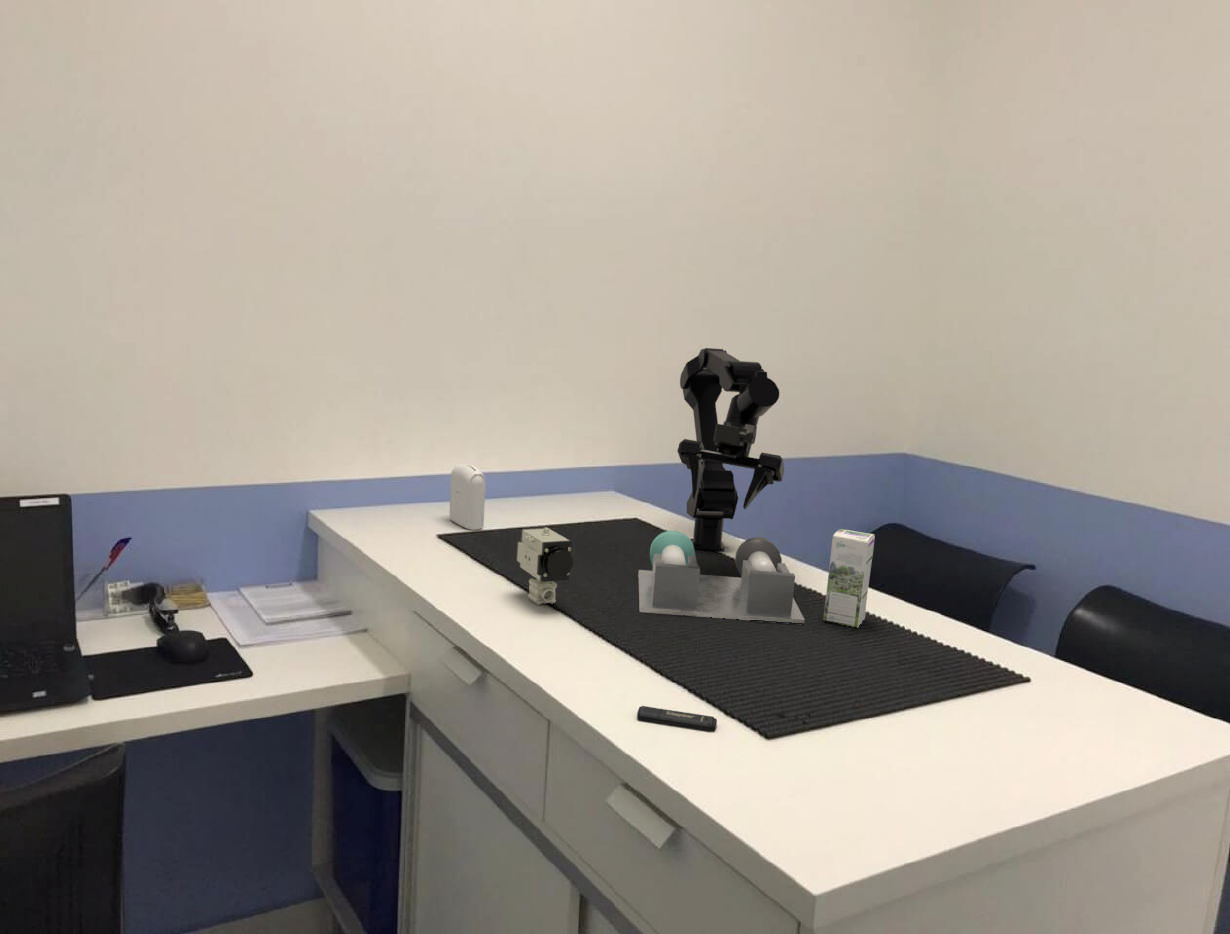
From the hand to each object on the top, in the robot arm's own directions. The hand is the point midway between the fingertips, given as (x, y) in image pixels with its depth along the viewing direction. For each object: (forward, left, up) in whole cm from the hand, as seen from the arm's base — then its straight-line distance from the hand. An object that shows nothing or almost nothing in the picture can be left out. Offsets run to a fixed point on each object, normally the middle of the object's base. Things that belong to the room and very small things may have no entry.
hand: (719, 503), depth 182 cm
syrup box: (+19, +20, -14) cm, 31 cm away
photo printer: (-26, -48, -14) cm, 57 cm away
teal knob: (+8, -8, -13) cm, 17 cm away
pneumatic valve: (+21, -29, -14) cm, 38 cm away
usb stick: (+63, -9, -15) cm, 65 cm away
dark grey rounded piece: (+8, +7, -13) cm, 17 cm away
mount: (+11, 0, -14) cm, 18 cm away
